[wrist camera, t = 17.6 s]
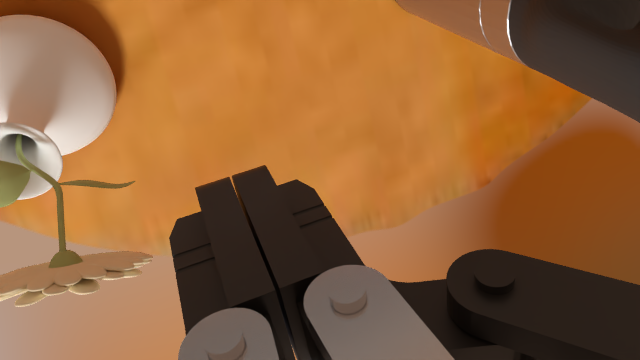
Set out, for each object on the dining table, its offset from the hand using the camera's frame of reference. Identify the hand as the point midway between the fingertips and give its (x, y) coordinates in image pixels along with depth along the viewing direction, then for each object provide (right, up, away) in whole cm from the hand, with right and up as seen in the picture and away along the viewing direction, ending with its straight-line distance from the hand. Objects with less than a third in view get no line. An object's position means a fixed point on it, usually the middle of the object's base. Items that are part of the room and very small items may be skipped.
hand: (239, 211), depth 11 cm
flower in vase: (-20, +8, +30) cm, 37 cm away
